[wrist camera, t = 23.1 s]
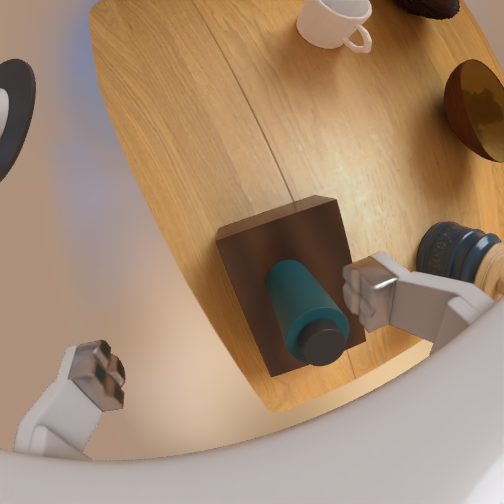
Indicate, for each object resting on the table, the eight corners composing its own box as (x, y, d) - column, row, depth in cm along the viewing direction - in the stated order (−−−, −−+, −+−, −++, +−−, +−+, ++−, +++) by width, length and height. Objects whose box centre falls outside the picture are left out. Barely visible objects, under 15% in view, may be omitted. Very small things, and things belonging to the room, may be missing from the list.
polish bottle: (273, 306, 31) (299, 384, 18) (259, 268, 30) (281, 333, 17) (313, 292, 31) (361, 360, 18) (302, 253, 30) (352, 306, 17)
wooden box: (264, 345, 42) (271, 377, 34) (218, 228, 37) (215, 240, 29) (345, 315, 42) (366, 341, 34) (315, 194, 36) (336, 198, 29)
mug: (328, 75, 32) (356, 49, 22) (286, 17, 29) (300, -19, 19) (368, 62, 31) (400, 39, 22) (327, 7, 28) (348, -24, 19)
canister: (443, 204, 38) (520, 222, 21) (468, 251, 41) (532, 279, 24) (402, 260, 40) (476, 301, 23) (433, 301, 43) (493, 345, 26)
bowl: (418, 137, 35) (459, 132, 25) (423, 55, 31) (457, 39, 21) (477, 174, 37) (514, 178, 28) (481, 100, 33) (514, 94, 23)
